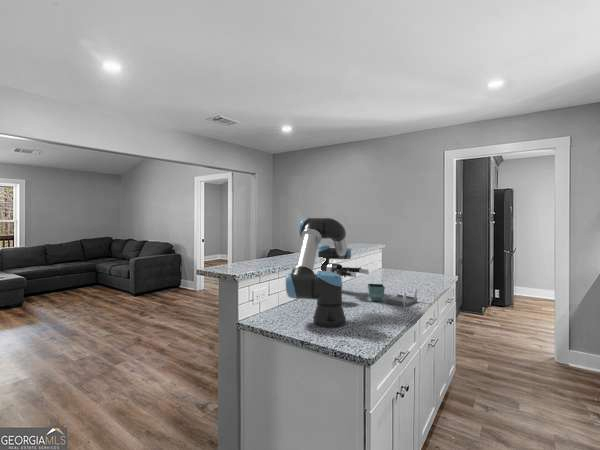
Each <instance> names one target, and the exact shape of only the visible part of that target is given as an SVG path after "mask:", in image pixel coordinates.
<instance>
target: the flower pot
mask: <svg viewBox="0 0 600 450" xmlns="http://www.w3.org/2000/svg"><path fill="white" fill-rule="evenodd" d="M385 288H386V287H385V285H384V284H383V283H368V284H367V291H368V296H369V297H370V300H371V301H372V302H382V300H383V298H384V295H385Z"/></svg>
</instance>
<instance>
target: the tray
mask: <svg viewBox="0 0 600 450" xmlns="http://www.w3.org/2000/svg"><path fill="white" fill-rule="evenodd" d="M385 303H386V304H390V305H394V306H400V307H409V306H410V305H411V306H412V305H413V304H416V303H418V289H417V288H413V296H409V295H407V292H403V293H402V294H399V293H398V294H396V296H394V297H391V298H389V297H386V298H385Z"/></svg>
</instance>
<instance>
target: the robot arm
mask: <svg viewBox="0 0 600 450" xmlns="http://www.w3.org/2000/svg"><path fill="white" fill-rule="evenodd" d="M298 232H299V237H300V238H301V240H302V242H301V246H300V250H299V253H298V256H297V257H298V258H297V262H296V266H295V267H294V268H293V269H292V270H291V273H290V272H289V273H286V276H285V291H286V295H287V297H289V298H290V299H295V300H297V299H299V300H300V299H301V300H302V299H304V300H316V307H315V311H314V314H313V316H312V317H313V321H312V323H313V324H314V325H316V326H319V327H322V328H338V327H343V326H344V325H346V323H347V318H346V315H345V312H344V308H343V299H342V298H343V294H342V293H343V291H342V290H343V279H342V277H344V278H347V277H351V278H357V273H359V274H365V275H369V273H370V272H369V271H370V270H369V269H368V268H367V269H366V268H364V269H363V268H362V267H360V266H359V267H348V266H346V267H345V266H342V264H339V263H334V262H333V263H332V262H330V260H350V259H352V249H351V247H348V245H347V241H346V237H347V236H346V235H347V232H346V229H345V227H344V225H343V224H342V223H341V222H339V221H338V220H336V219H334V218H330V217H307V218H306V217H305V218H303V219H301V221H300V224H299V229H298ZM322 239H331V240H332V242H333V246H334V247H330V245H329V244H320V243H321V242H322ZM317 250H318V252H317ZM317 255H318V257H323V258H326V261H325V262H324V263H323V264H322V266H321V270H322V271H318V272H316V273H315V271H314V268H315V260H316V257H317Z"/></svg>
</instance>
